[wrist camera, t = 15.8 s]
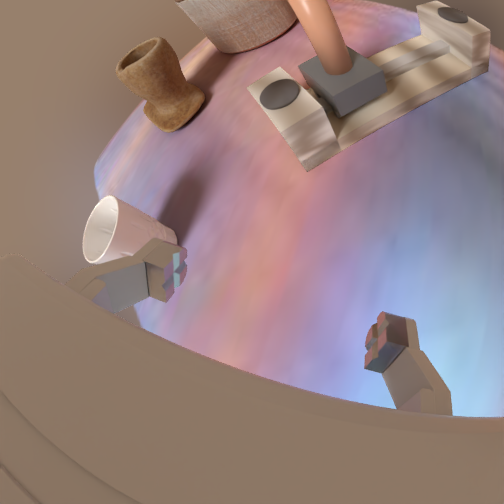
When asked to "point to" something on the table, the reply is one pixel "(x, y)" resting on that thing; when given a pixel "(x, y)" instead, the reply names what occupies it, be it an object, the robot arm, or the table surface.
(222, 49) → the planter
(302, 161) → the rail track
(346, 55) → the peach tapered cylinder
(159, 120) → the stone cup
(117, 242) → the white cup
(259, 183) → the table surface
